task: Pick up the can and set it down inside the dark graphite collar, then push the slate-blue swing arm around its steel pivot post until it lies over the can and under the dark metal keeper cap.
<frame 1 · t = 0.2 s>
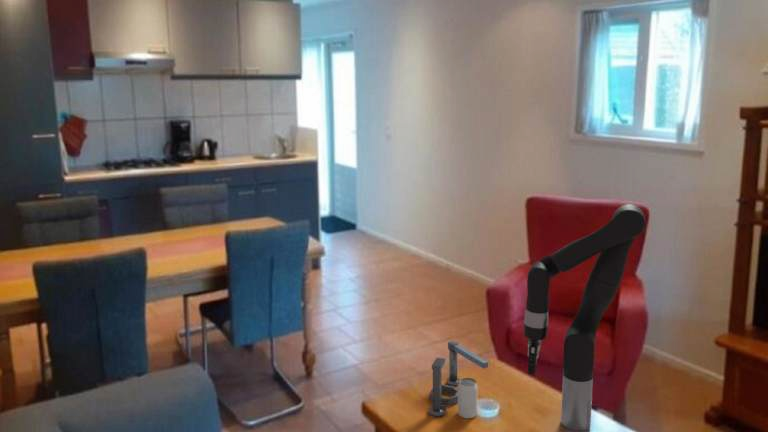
hand: (532, 368, 206), 18 cm above the table, tool pointing down, fingers open, 8 cm apart
can: (467, 414, 212), on the table
swing arm: (467, 354, 224), point 15 cm above the table, hinge at 50.0°
collar: (445, 398, 223), on the table
pivot post: (453, 383, 234), on the table
keeper: (437, 412, 214), on the table
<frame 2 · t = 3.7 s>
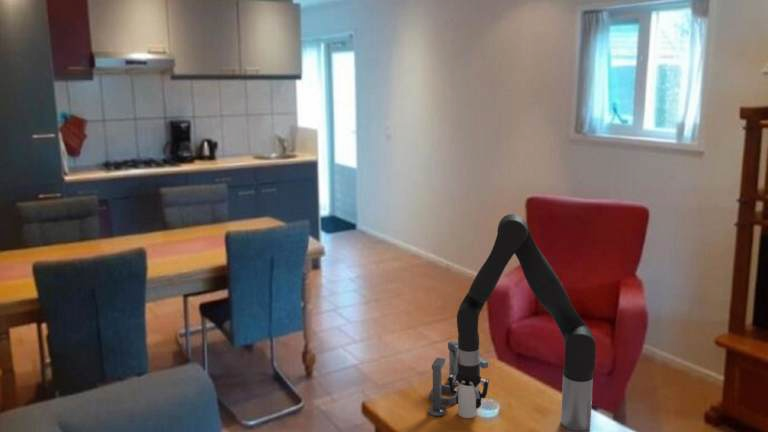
hand: (468, 406, 212), 3 cm above the table, tool pointing down, fingers closed on can, 5 cm apart
can: (467, 414, 212), on the table, touching gripper
everything else where it was.
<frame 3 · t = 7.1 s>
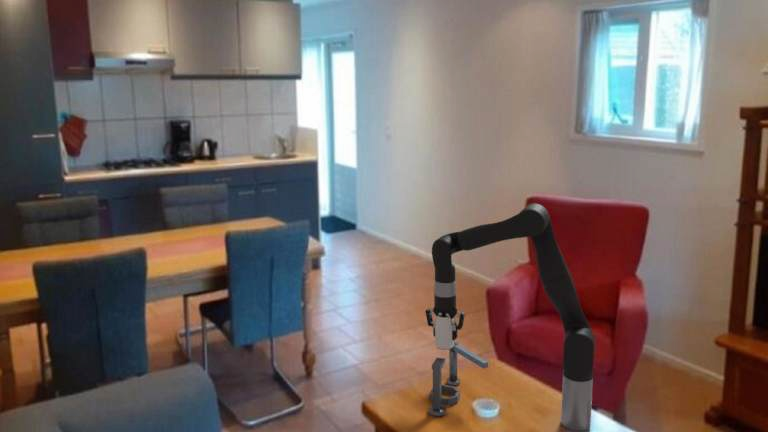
hand: (445, 338, 218), 23 cm above the table, tool pointing down, fingers closed on can, 5 cm apart
can: (444, 346, 219), point 20 cm above the table, touching gripper
everything else where it was.
when the fingers open (4 cm above the table, at t = 10.4 s): can drops 1 cm, resting in collar.
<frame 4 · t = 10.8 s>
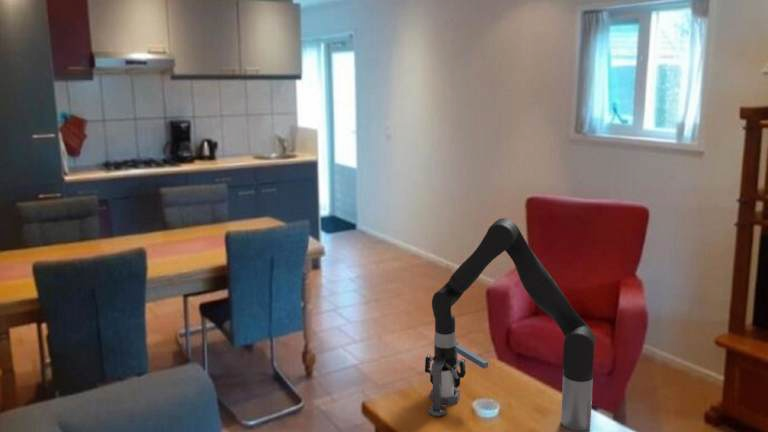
hand: (445, 385, 222), 5 cm above the table, tool pointing down, fingers open, 8 cm apart
can: (444, 398, 223), resting in collar
everything else where it was.
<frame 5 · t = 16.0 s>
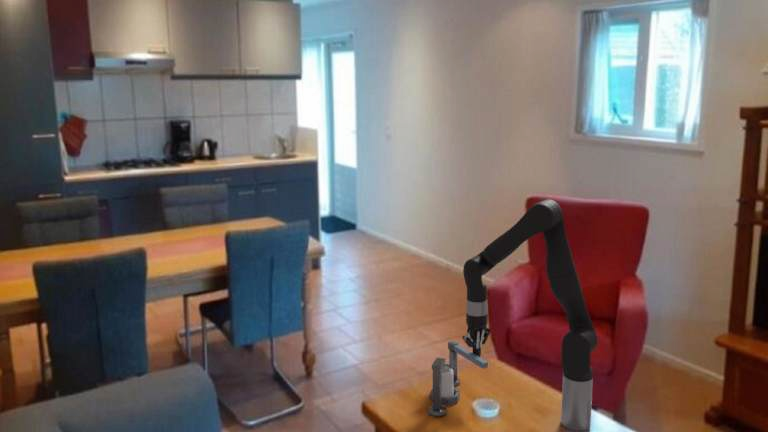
hand: (476, 356, 224), 14 cm above the table, tool pointing down, fingers closed
swing arm: (467, 354, 224), point 15 cm above the table, hinge at 49.5°, touching gripper
everything else where it was.
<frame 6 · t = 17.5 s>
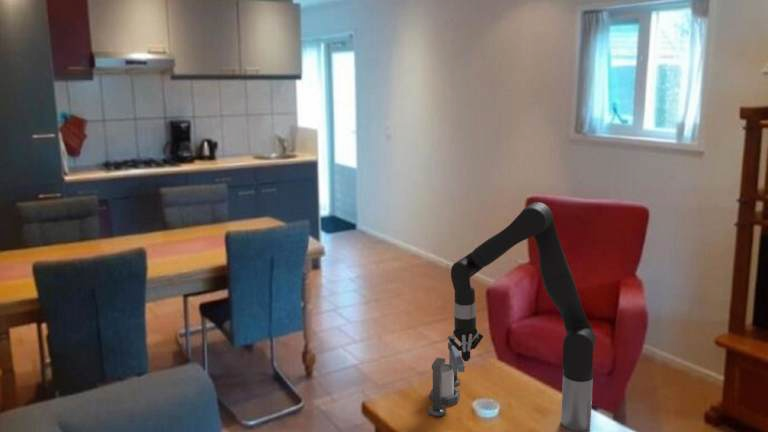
hand: (465, 360, 221), 14 cm above the table, tool pointing down, fingers closed
swing arm: (456, 355, 223), point 15 cm above the table, hinge at 22.4°, touching gripper
everything else where it was.
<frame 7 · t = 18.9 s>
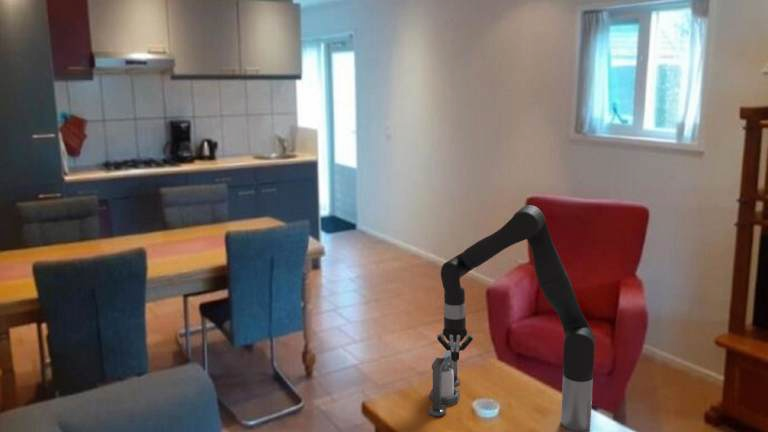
hand: (455, 360, 221), 14 cm above the table, tool pointing down, fingers closed
swing arm: (448, 355, 223), point 15 cm above the table, hinge at 2.1°
everything else where it was.
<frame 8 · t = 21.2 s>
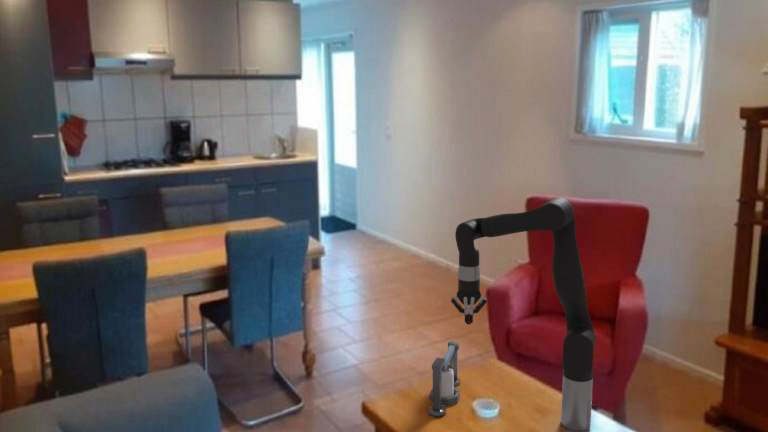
hand: (468, 323, 221), 27 cm above the table, tool pointing down, fingers closed
nothing on the table moved.
at the end: can 0.3 cm off-centre on the collar, point 0.0 cm above the collar's base; can tilted 0°; swing arm at +2° (first picture: +50°) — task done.
